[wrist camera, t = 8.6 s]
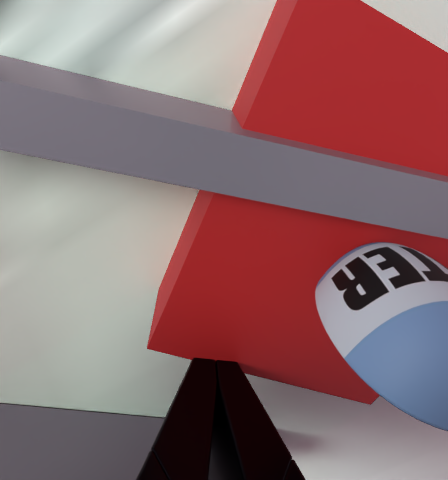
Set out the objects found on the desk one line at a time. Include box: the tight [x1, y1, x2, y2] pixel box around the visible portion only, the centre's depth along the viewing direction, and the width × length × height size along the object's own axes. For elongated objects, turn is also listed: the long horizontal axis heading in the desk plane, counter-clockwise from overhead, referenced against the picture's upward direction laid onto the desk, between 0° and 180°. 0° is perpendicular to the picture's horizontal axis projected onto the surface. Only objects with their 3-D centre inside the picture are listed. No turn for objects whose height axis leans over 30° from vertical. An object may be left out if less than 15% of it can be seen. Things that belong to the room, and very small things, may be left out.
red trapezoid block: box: [147, 0, 448, 431], centre depth 7 cm, size 8×7×6 cm
